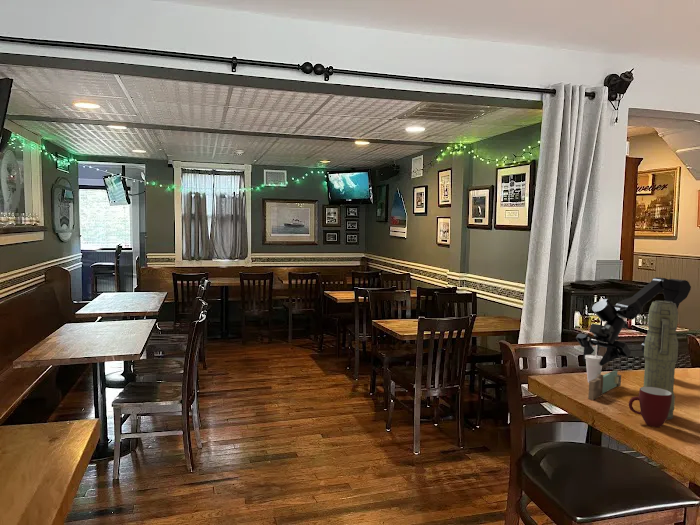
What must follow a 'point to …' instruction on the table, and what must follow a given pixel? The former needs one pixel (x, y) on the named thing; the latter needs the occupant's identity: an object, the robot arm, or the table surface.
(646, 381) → the thermos
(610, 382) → the green block
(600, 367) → the smoothie
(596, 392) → the brown block
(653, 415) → the mug
